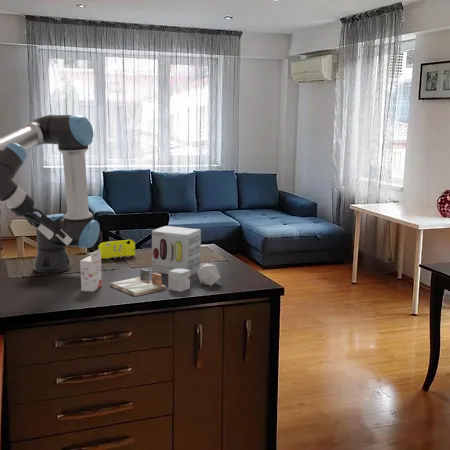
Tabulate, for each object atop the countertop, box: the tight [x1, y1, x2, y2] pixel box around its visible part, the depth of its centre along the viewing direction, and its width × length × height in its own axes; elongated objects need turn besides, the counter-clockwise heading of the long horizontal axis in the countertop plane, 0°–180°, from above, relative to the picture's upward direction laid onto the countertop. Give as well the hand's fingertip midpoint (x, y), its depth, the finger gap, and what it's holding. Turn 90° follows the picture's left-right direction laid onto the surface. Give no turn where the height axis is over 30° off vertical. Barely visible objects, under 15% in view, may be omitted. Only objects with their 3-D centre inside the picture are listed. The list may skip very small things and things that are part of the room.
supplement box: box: [151, 225, 202, 277], centre depth 247 cm, size 17×13×18 cm
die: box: [196, 263, 221, 287], centre depth 230 cm, size 8×9×10 cm
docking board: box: [109, 268, 167, 297], centre depth 224 cm, size 17×14×5 cm
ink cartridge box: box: [79, 249, 103, 292], centre depth 221 cm, size 9×5×15 cm, turn 168°
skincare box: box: [168, 268, 191, 293], centre depth 222 cm, size 6×6×7 cm
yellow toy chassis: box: [97, 239, 136, 260], centre depth 271 cm, size 16×6×8 cm, turn 119°
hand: (60, 239), depth 210 cm, fingers open, 13 cm apart
